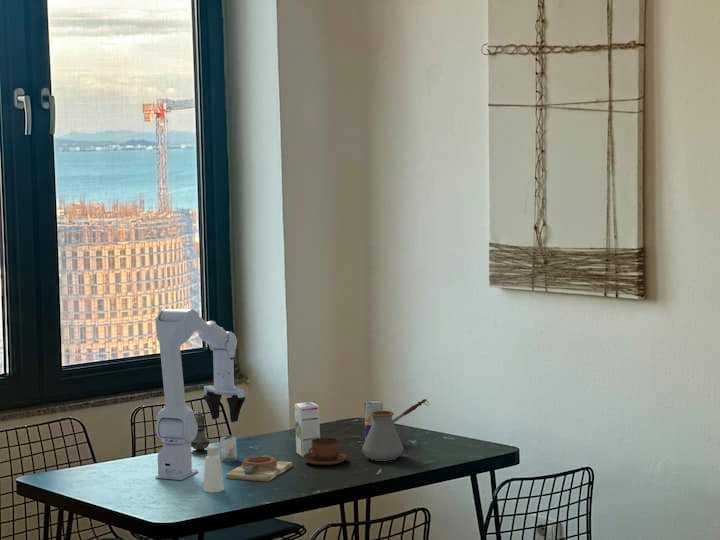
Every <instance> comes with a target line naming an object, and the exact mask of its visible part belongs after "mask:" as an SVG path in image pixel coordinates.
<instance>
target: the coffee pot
mask: <svg viewBox="0 0 720 540" xmlns="http://www.w3.org/2000/svg"><path fill="white" fill-rule="evenodd" d="M426 402H427V403H428V404H426ZM422 404H425V406H429V405H430V402H429V401H428V400H427V399H426V398H424V399H422V400H421V401H417V403H416V404H414V405H411V406H410V407H408V409H406V410H404V412H403V411H402V413H401V414H399V415H398V416H396V417H394V418H393V416H394V415H395V413H394V412H393V411H391V410H383V411H375V412H372V413H371V415H372V417H373V423H372V425H371V428H370V430H369V433H368V435H367V438H366V440H364V442H363V445H362V452H363V454H364V456H366V458H368V459H369V458H370V459H371V460H370V459H369V460H370V461H372V460H377V461H387V460H393V459H396V458H397V459H398V457H400V456H401V455H402V453H403V451H404V445H403V442H402V440H401V439H400V436H399V434H398V432H397V429H396V427H395V424H394V423H396V422H397V421H398V420H400V419H401V418H403V417H406V416H407V415H408V414H410V413H412V412H413V411H415V410H416V409H417V408H419V406H422ZM397 459H396V460H397Z"/></svg>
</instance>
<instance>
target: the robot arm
mask: <svg viewBox="0 0 720 540" xmlns="http://www.w3.org/2000/svg"><path fill="white" fill-rule="evenodd" d="M155 326H156V327H155V328H156V339H157V341H158V343H159V344H158V345H159V354H160V361H161V363H160V364H161V375H162V385H163V393H164V394H163V395H164V405H165V406H164V407H162V408H161V410H159V411H158V412H157V415H156V420H157V421H156V423H155V424H156V425H155V432H156V434H157V437H158V438H159V439H160V442H161V443H163V445H162V447H161V448H159V451H158V453H157V475H154V476H155V477H154V478H155V479H164V480H165V479H166V480H175V481H176V480H177V481H179V480H180V481H182V480H184V479H187V478H188V477H190V476H192V475H193V474H196V473H198V472H199V469H195V468H194V469H193V465H192V463H193V461H192V454H191V452H192V446H191V441H193V439H194V438H195V437H196V435H197V431H198V425H197V422H196V420H195V416H196V415H195V411H194V410H193V409H192V408H191V407H190V406H188V405H187V404H186V396H185V395H186V394H185V384H184V375H183V373H184V372H183V363H182V353H181V347H182V345H183V344H185V343H187V342H188V341H189V339H191V337H192V336H193V335H194V333H195V332H196V333H198V337H199V339H201V340H202V341H203V342H205V343H206V344H208V348H209V350H210V351H212V355H213V356H212V357H213V360H212V361H213V385H211V384H210V385H209V384H208V385H204V386H203V393H204V394H205V395H203V399H204V401H205V402H206V404H207V407H208V409H209V412H210V416H211V419H212V420H217V419H219V418H220V405H221V399H222V396H229V397H227V398H226V401H227V404H228V409H229V418H230V419H229V420H230V423H236V422H238V421H239V415H240V413H241V410H242V407H243V404H244V403H245V401H246V391H245V389H241V388H239V387H238V388H237V387H236V386H235V370H234V367H235V366H234V365H235V364H234V357H236V350H237V349H236V348H237V345H238V339H237V337H236V334H235V333H234V332H232V331H230V330H229V331H227V330H225V329H224V327H222V326H219V325H218V324H217V322H216V321H215V320H209V321H205V320H204V318H202V317H201V316H200V314H199V311H196V310H195V309H193V308H190V309H178V308H176V309H175V308H161V309H160V311H159V312H158V314H157V316H156V318H155Z"/></svg>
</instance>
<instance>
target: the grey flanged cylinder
mask: <svg viewBox="0 0 720 540" xmlns="http://www.w3.org/2000/svg"><path fill="white" fill-rule="evenodd" d="M194 416H195V420H196V422H197V425H198V431H197V435H196V437H195V438H194V439H193V441H191V448H193V449H194V450H191V455H195V456H200V455H201V456H202V455H206V454H207V455H208V453H207V447H209V446H210V445H209V444H210V441H211V439H210V438H208V437H207V435H206V427H207V426H205V416H204V415H203V414H201V412H200V411H198V412H197V414H196V415H194Z"/></svg>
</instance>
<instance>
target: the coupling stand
mask: <svg viewBox="0 0 720 540" xmlns="http://www.w3.org/2000/svg"><path fill="white" fill-rule="evenodd" d="M241 461H242V462H241V465H239V466H237V467H236V468H235V467H234V469H232V470H230V471H228V472H226V473H225V479H231V480H244V481H256V482H257V481H258V482H270V481H271V480H273V479H274V478H276V477H278V476H280V475H281V474H282V473H284V472H286V471H287V470H289V469H290V468H292V467H293V462H292V461H281V460H280V461H279V460H277V459H276V458H275V457H274V456H270V455H269V454H261V455H254V456H248V457H246V458H244V459H242V460H241Z"/></svg>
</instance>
